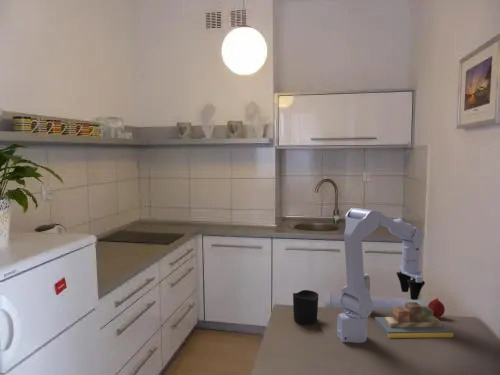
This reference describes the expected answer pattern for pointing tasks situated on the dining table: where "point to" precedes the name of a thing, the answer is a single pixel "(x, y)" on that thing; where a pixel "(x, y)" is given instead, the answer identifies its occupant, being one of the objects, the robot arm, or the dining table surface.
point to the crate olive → (427, 314)
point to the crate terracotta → (401, 314)
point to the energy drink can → (367, 281)
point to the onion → (436, 308)
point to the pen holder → (305, 307)
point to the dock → (412, 330)
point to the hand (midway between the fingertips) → (409, 295)
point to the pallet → (415, 324)
